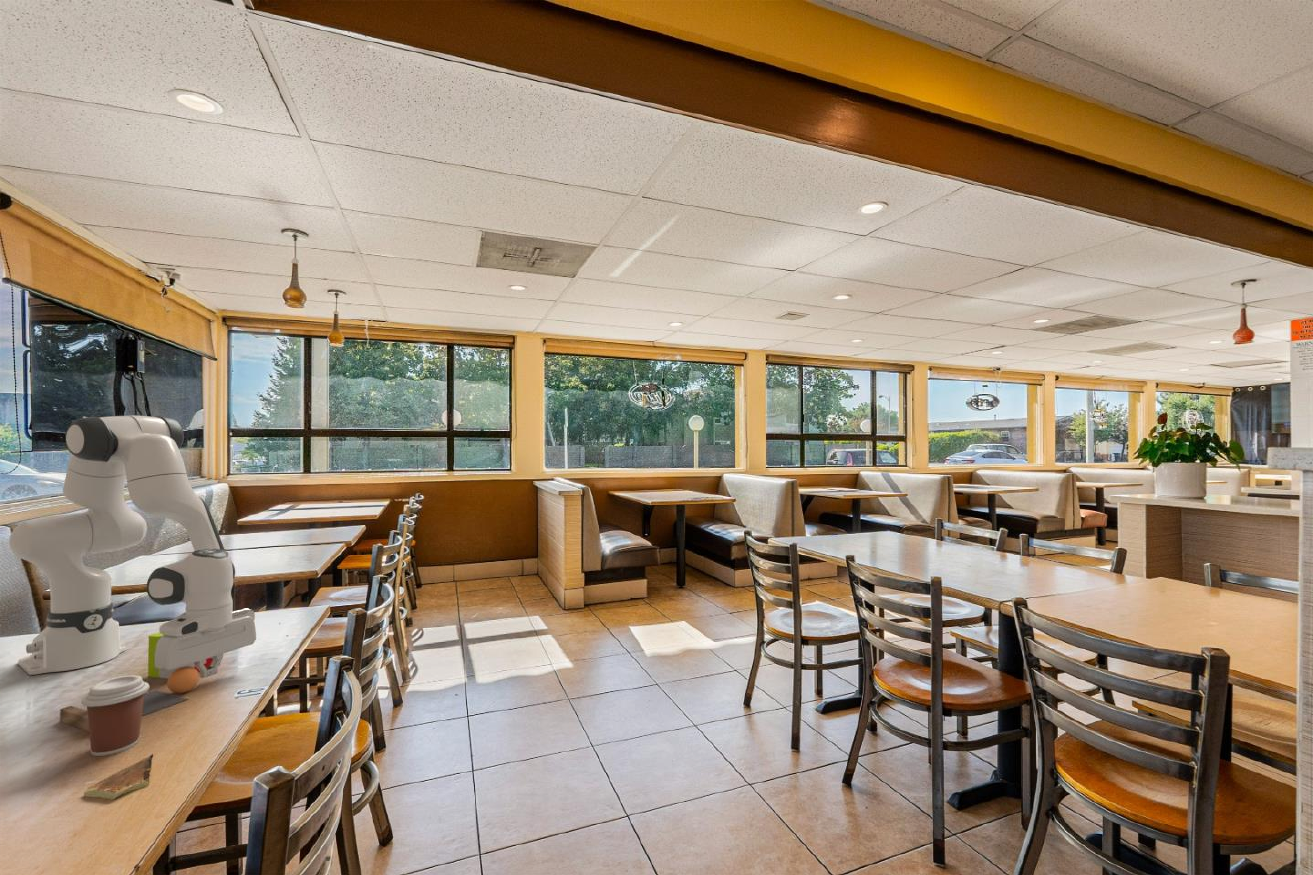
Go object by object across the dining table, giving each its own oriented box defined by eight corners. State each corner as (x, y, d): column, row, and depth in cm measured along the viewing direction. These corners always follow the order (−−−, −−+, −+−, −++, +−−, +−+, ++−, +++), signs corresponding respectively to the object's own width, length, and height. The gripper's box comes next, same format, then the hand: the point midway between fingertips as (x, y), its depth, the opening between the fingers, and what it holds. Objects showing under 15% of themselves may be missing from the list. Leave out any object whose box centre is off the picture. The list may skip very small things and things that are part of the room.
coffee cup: (149, 729, 110) (150, 668, 110) (147, 747, 103) (148, 683, 104) (83, 745, 104) (84, 681, 104) (77, 766, 97) (78, 697, 98)
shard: (152, 762, 100) (152, 752, 100) (188, 765, 98) (188, 755, 98) (81, 799, 89) (81, 788, 89) (120, 804, 88) (120, 793, 88)
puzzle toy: (180, 680, 134) (181, 638, 134) (148, 676, 136) (148, 635, 136) (220, 664, 144) (221, 625, 144) (189, 661, 146) (190, 623, 146)
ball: (190, 680, 131) (163, 695, 126) (186, 659, 130) (159, 673, 125) (206, 685, 130) (180, 700, 124) (202, 664, 128) (175, 678, 123)
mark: (87, 713, 117) (87, 712, 117) (156, 690, 128) (156, 689, 128) (119, 724, 112) (119, 723, 112) (187, 699, 123) (187, 698, 123)
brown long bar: (60, 721, 113) (60, 709, 113) (70, 717, 115) (70, 705, 115) (97, 734, 108) (97, 721, 108) (108, 730, 110) (108, 717, 110)
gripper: (246, 604, 144) (245, 658, 143) (150, 628, 124) (149, 690, 124) (262, 607, 141) (261, 661, 141) (167, 632, 122) (166, 695, 122)
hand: (208, 675), depth 132 cm, fingers closed
